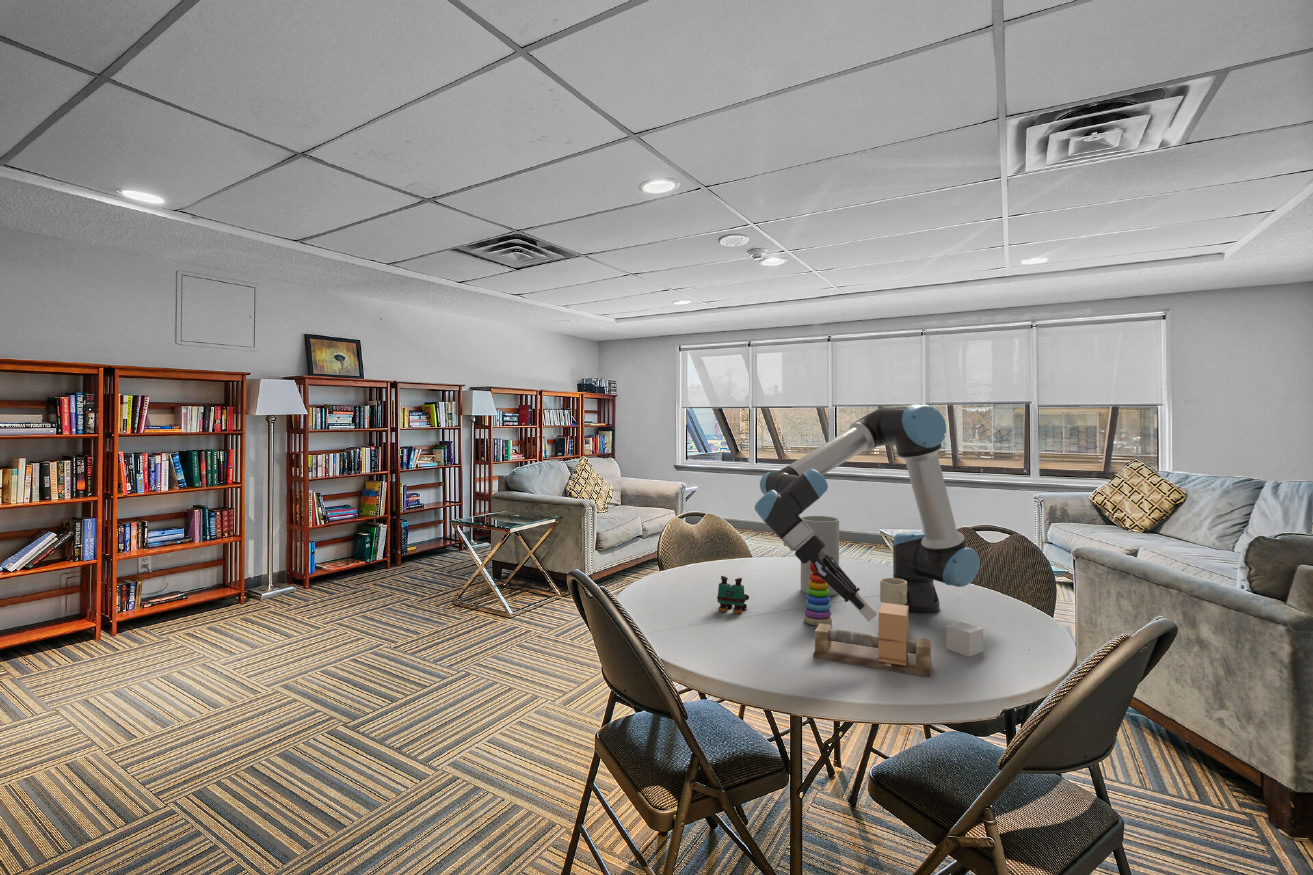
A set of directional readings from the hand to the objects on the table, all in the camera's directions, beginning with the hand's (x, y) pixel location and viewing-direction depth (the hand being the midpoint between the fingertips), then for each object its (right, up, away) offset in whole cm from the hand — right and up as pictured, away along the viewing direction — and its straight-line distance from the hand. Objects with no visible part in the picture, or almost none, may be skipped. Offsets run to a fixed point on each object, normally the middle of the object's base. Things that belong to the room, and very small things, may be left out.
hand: (873, 617), depth 144 cm
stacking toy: (-6, -10, +27) cm, 29 cm away
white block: (+25, -10, +6) cm, 28 cm away
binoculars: (-29, -10, +40) cm, 50 cm away
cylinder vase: (+3, -9, +58) cm, 58 cm away
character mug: (+14, -10, +23) cm, 29 cm away
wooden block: (+4, -9, -2) cm, 10 cm away
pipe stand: (0, -10, 0) cm, 10 cm away
